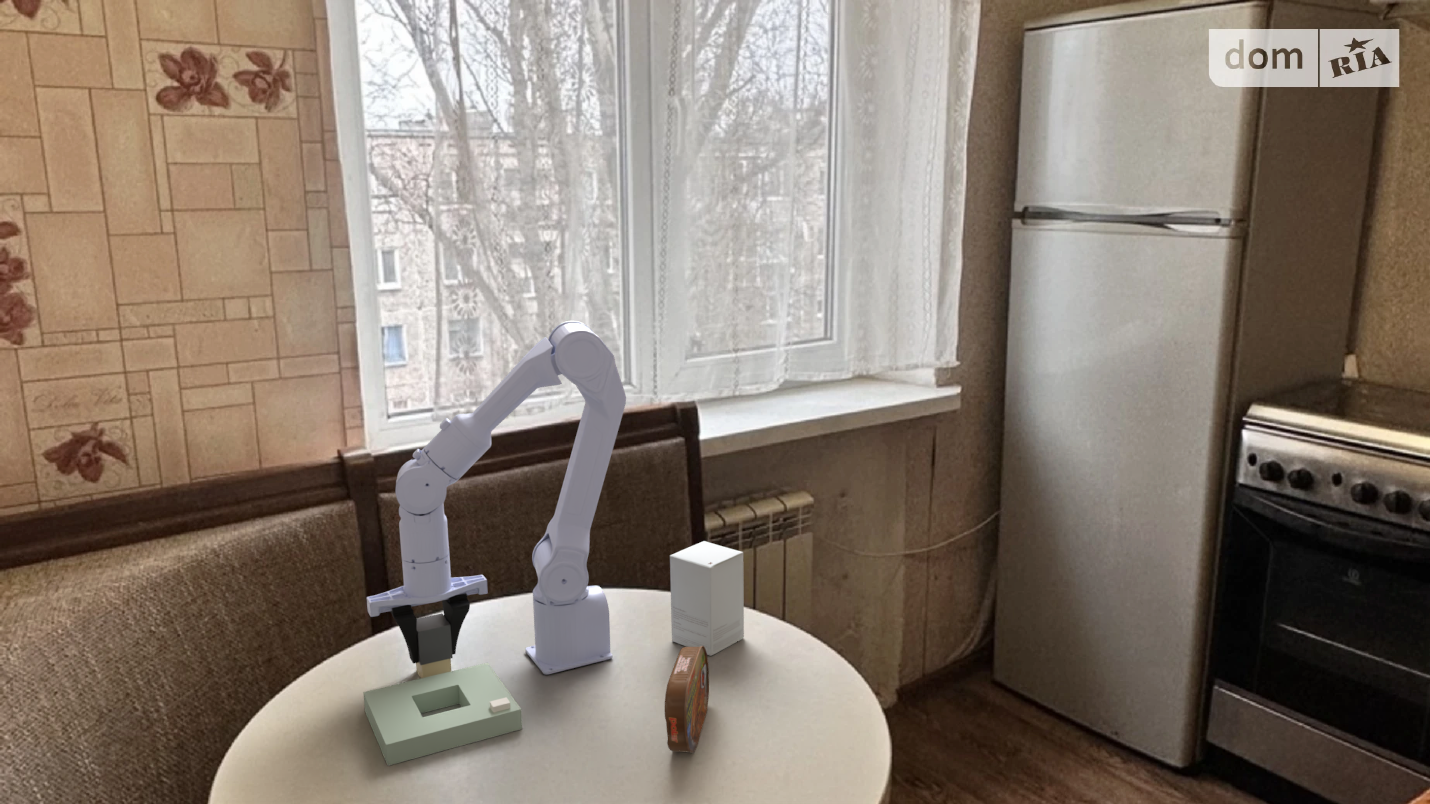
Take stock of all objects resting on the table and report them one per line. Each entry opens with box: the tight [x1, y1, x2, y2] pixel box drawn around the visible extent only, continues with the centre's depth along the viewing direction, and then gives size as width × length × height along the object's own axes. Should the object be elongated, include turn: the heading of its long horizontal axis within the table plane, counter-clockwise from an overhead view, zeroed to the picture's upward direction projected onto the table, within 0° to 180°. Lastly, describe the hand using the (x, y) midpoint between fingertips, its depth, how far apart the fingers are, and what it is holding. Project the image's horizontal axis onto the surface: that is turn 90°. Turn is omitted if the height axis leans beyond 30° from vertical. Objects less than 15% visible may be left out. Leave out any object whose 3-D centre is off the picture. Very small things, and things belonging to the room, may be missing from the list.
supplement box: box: [669, 540, 745, 656], centre depth 135 cm, size 7×7×13 cm
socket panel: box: [362, 662, 523, 766], centre depth 116 cm, size 15×13×3 cm
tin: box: [664, 646, 710, 754], centre depth 114 cm, size 15×3×8 cm, turn 172°
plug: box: [415, 612, 453, 679], centre depth 127 cm, size 4×4×7 cm
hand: (432, 655), depth 127 cm, fingers closed on plug, 4 cm apart
